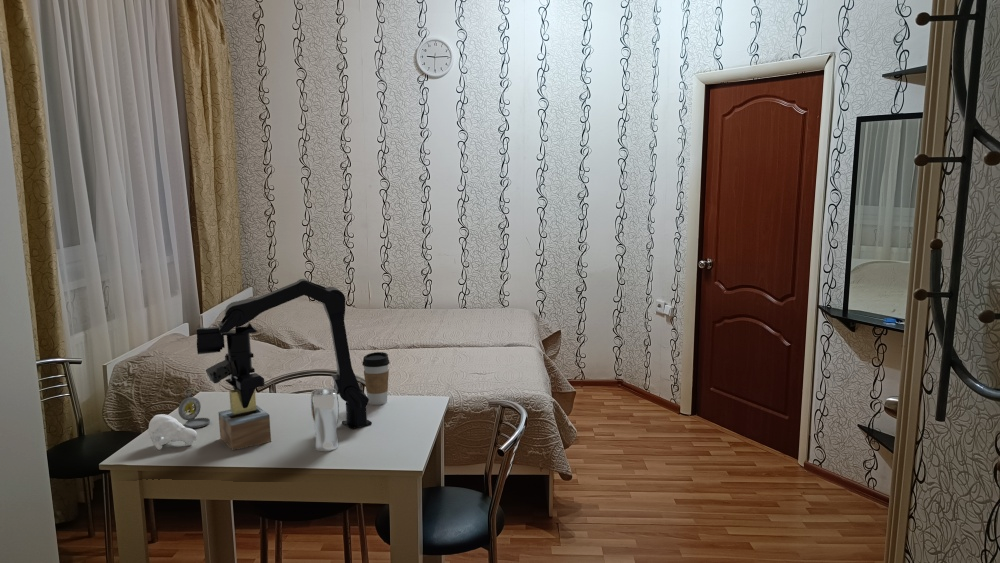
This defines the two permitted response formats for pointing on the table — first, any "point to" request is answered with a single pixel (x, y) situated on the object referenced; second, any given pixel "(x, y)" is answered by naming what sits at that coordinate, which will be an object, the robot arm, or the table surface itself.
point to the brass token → (237, 404)
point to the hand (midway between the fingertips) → (243, 406)
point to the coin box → (244, 428)
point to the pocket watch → (188, 406)
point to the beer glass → (325, 418)
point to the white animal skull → (169, 431)
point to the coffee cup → (376, 377)
